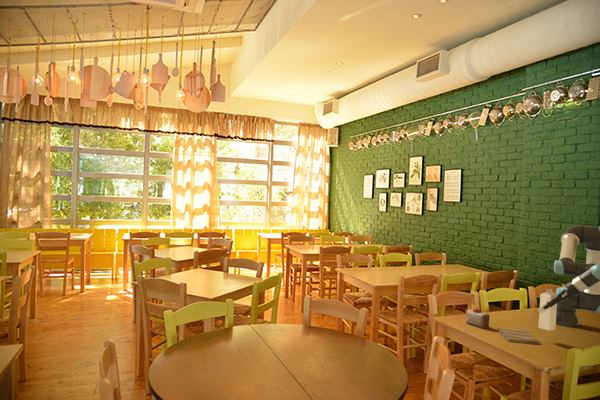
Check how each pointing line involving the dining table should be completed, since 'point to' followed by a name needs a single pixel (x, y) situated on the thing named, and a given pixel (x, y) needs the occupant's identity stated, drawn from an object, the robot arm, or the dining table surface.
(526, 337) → the tan board
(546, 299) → the milk
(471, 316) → the food item
